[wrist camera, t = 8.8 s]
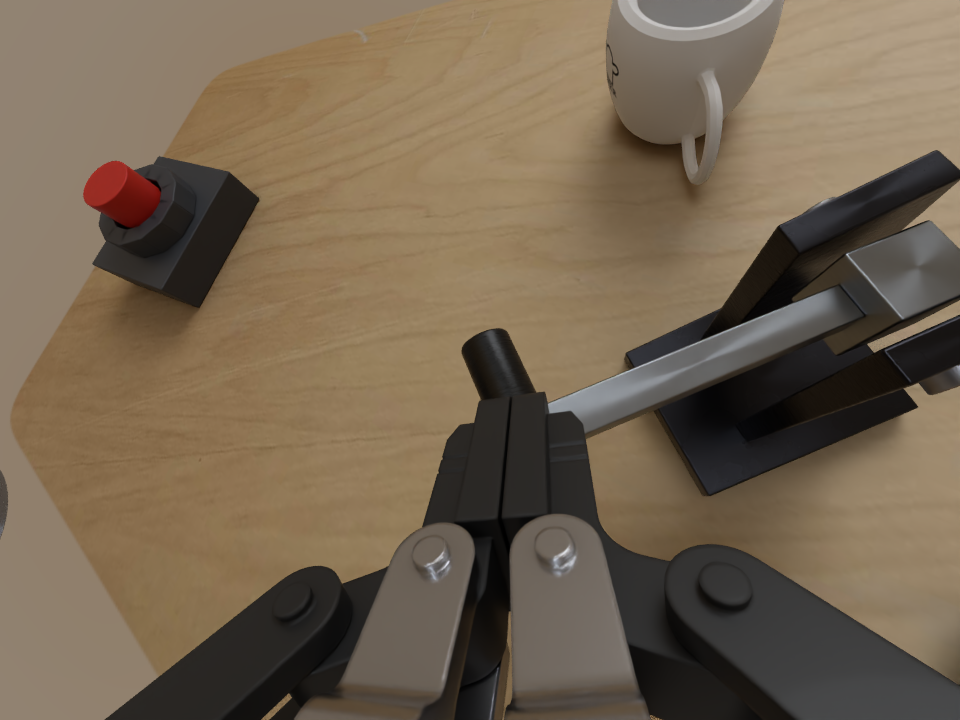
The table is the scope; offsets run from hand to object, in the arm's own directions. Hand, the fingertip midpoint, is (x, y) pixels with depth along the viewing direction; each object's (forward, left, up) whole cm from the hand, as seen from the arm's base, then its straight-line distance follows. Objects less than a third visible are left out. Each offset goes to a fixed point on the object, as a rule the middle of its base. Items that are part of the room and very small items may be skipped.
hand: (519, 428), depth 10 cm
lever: (+5, 0, -4) cm, 7 cm away
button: (-19, +28, -10) cm, 35 cm away
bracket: (+11, 0, -15) cm, 18 cm away
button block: (-19, +28, -15) cm, 37 cm away
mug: (+16, +16, -15) cm, 27 cm away
